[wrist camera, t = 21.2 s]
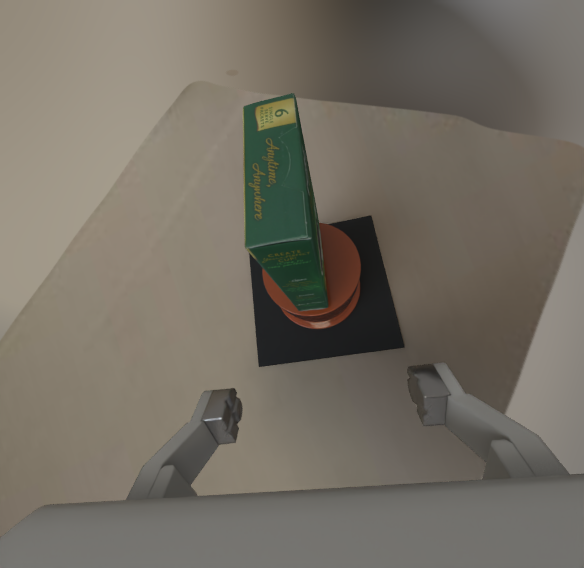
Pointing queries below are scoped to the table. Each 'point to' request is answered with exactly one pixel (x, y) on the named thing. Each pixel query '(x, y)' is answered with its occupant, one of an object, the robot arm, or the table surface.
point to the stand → (327, 283)
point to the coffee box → (282, 202)
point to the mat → (345, 336)
